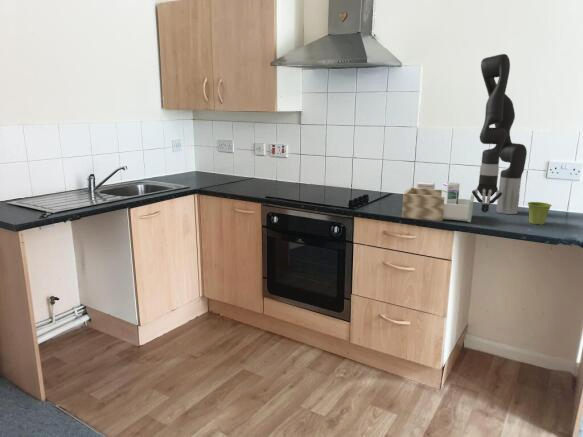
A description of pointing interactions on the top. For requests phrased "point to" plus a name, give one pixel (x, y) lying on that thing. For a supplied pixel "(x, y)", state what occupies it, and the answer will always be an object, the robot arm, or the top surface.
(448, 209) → the drawer
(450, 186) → the syrup box
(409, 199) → the caddy
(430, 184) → the ink box
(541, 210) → the plant pot
